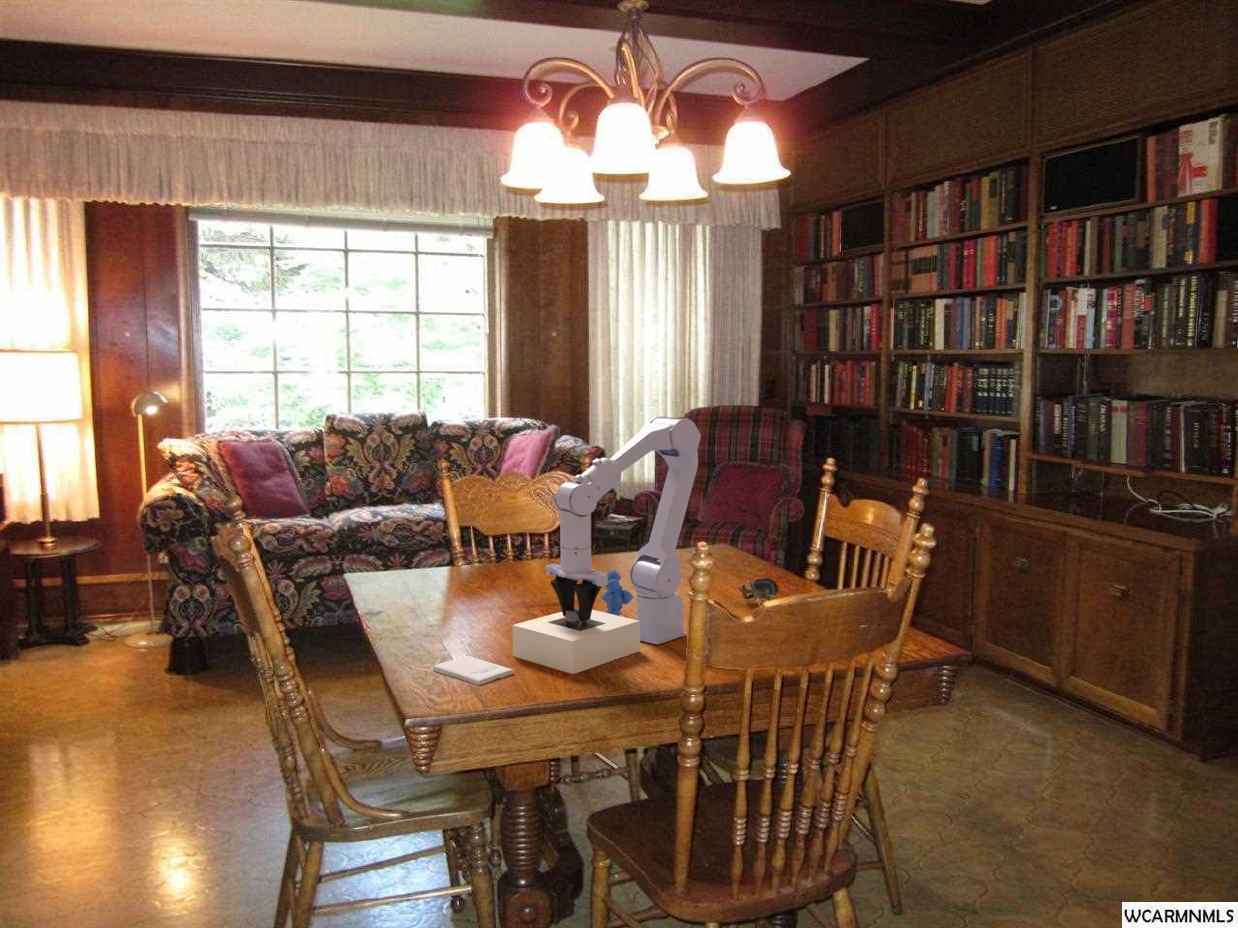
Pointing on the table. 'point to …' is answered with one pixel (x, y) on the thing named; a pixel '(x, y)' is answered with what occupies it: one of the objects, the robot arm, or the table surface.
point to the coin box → (576, 641)
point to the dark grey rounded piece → (574, 618)
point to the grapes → (615, 594)
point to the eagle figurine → (760, 589)
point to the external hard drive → (473, 670)
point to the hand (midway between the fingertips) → (576, 617)
